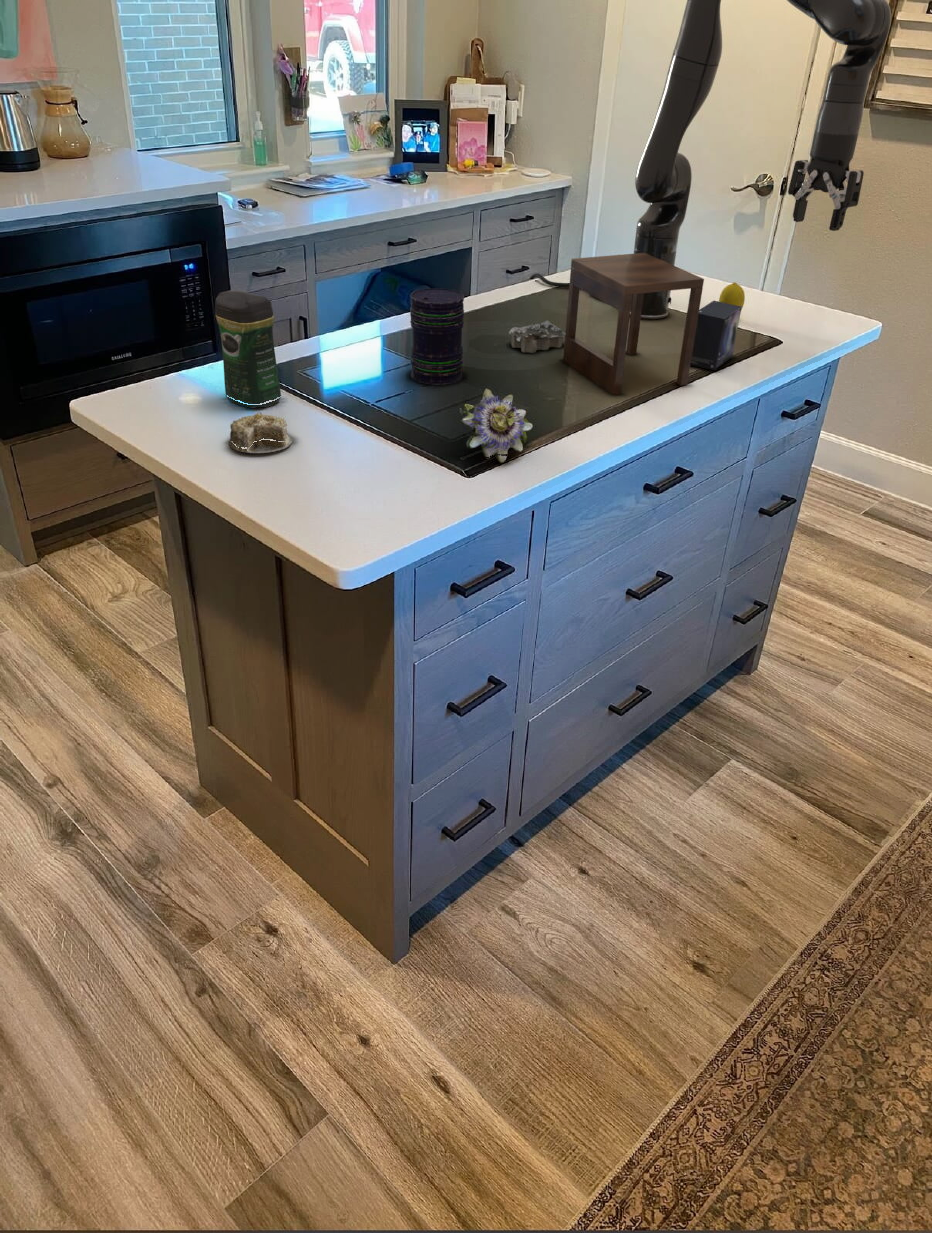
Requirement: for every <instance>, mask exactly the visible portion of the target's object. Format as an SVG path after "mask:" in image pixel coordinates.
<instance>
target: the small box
mask: <svg viewBox="0 0 932 1233" xmlns="http://www.w3.org/2000/svg"><path fill="white" fill-rule="evenodd" d="M741 309H742V310H743V308H742V306H737V305H732V304H727V303H723V302H719V300H712V301H711V302H710V303H707V304H706V305H704V306H703V307H700V308H699V315H698V321H697V327H696V333H695V339H694V346H693V352H692V358H691V364H690V366H693V367H698V368H701V369H706V370H710V371H716V370H717V369H719V368H720V367H721V366H722V365H723V364H725V363H727V361H729V360H730V359H731V358H732V357H733V354H734V349H735V344H736V338H737V333H738V328H739V324H740V320H741V313H742V310H741Z"/></svg>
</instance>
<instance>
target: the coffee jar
mask: <svg viewBox="0 0 932 1233" xmlns="http://www.w3.org/2000/svg"><path fill="white" fill-rule="evenodd" d="M214 306H215V307H214V310H215V318H216V322H217V325H218V329H219V334H220V340H221V353H222V364H223V378H224V381H223V382H224V391H225V392H224V393H225V397H226V398H227V400H229V401H230V402H232V403H234V404H237V405H240V406H243V407H246V408H251V409H254V408H261V407H262V408H266V407H270V406H272V405H274V404H276V403H277V402H278V401H280V399H282V398H281V397H282V391H281V385H280V384H281V383H280V377H279V372H278V365H277V358H276V357H277V356H276V351H275V344H274V343H275V342H274V321H275V316H274V309H273V304H272V301H271V300H270V299H269V298H267V297H266V296H261V295H256V294H253V293H250V292H246V291H242V290H240V289H239V288H236V289H232V290H226V291H223V292H219V293H218V294H217V297H216V298H215V303H214ZM226 395H228V396H229V397H232V398H234V399H235V400H240V401H242V402H244V403H248V404H260V403H264V402H266V401H269V400H274V399H276V398H277V397H280V396H281V397H280V398H279V399H277V400H275V401H272V402H269V403H266V404H262V405H247V404H243V403H240V402H238V401H235V400H233V399H231V398H229V397H227V396H226Z"/></svg>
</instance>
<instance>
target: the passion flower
mask: <svg viewBox="0 0 932 1233" xmlns="http://www.w3.org/2000/svg"><path fill="white" fill-rule="evenodd" d="M513 399H514V396H513V394H508V395H506V396H504V397H503V398H502V399H499V395H493V393H492V391H491V390H490V389H488V388H485V390H484V391H483V394H482V399H481V400H480V402H478V403H476V404H475V405H472V404H468V403H465V404H464V405H463V409H462V408H461V407H459V409H458V413H459V414H460V416H461V418H462V419H461V420H460V423H462V424H463V425H465V426H467V427H469V428H471V430H472V432H473V435H471V436H470V437H469V439H468V440H467V441H466V447H467V449H474V448H477V447H479V446H481V450H482V453H483V456H484V458H485V459H486V460H489V459H491V457H493V456H494V455H495V454H496V455H497V454H507V456H501V455H500V456H494V457H495V458H496V459H497V461H498V462H499V463H501V464H502V463H504V462H505V461H506V460H507V457H508V450H510V448H511V449H513V450H514V451H516V452H519V453H520V452H522V451H523V450H524V447H523V446H524V445H525V444H526V442H527V439H528V436H527V433H526V432H529V431H531V430H532V429H533V427H534V426H533V423H531V422H529V421H528V419H526V418H525V416H526V414H527V411H526V410H525V409H522V408H521V409H520V408H519V409H518V407H516V406H512V405H516V404H515V403H513ZM473 408H474V410H473V411H472V412H470V410H472V409H473ZM466 414H467V415H466ZM492 455H493V456H492ZM490 456H491V457H490ZM486 457H489V458H486Z"/></svg>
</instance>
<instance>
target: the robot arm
mask: <svg viewBox="0 0 932 1233" xmlns="http://www.w3.org/2000/svg"><path fill="white" fill-rule="evenodd" d="M786 1H787V3H790V5H792V6H793V7H794V8H795V9H797V10H798V11H800V12H801V13H803V14H804V15H806V16H807V17H809V18H810V19H812V20H813V21H815V22H816V24H817V26H819V28H820V29H821V30H822V31H823V32H824V33H825V34H826V36H828V37H829V38H830V39H831V40H833V41H834V42H836V43H838V44H839V45H843V46H846V48H845V51H844V53H843V56H842V58H841V59H840V60H839V61H837V62H835V63H834V64H832V65H831V66H830V68H829V70H828V74H827V77H826V83H825V87H824V91H823V96H822V100H821V104H820V106H819V107H820V108H819V110H818V114H817V118H816V122H815V127H814V131H813V137H812V142H811V147H810V151H809V156H810V161H809V160H808V159H798V160H795V162H794V166H793V169H792V174H791V178H790V181H789V186H788V190H787V194H788V195H789V196H792V197H793V198H794V200H795V201H794V202H795V203H794V207H793V213H792V218H793V220H792V221H793V222H795V223H801V222H804V221H805V217H806V212H807V208H808V202H809V200H807V199H808V198H809V197H810V196H811V195H812V194H813V193H814V192H815V191H821V192H822V193H826V194H827V193H828V195H829V198H830V199H832V202H833V206H834V208H833V210H832V215H831V219H830V223H829V227H828V229H829V231H831V232H837V231H840V229H841V228H842V227H843V225H844V221H845V218H846V217H845V216H846V213H847V210H848V209H849V208H853V207H856V206H858V204H859V200H860V196H861V190H862V185H863V180H864V174H865V172H864V170H862V169H859V170H851V169H850V163H851V161H852V160H853V158H854V154H855V151H856V146H857V141H858V137H859V134H860V129H861V125H862V120H863V115H864V105H865V101H866V96H867V93H868V92H867V91H868V88H869V84H870V78H871V75H872V72H873V70H874V68H875V66H876V65H877V62H878V60H879V57H880V56H881V52H882V50H883V48H884V46H885V43H886V41H887V38H888V35H889V33H890V28H891V23H892V11H891V7H890V4H889V3H888V1H887V0H786ZM721 2H722V0H686V4H685V8H684V12H683V16H682V19H681V24H680V26H679V31H678V36H677V39H676V42H675V45H674V48H673V51H672V55H671V59H670V62H669V66H668V70H667V74H666V78H665V82H664V87H663V90H662V93H661V96H660V100H659V104H658V107H657V111H656V113H655V118H654V122H653V124H652V128H651V130H650V133H649V136H648V138H647V141H646V144H645V146H644V149H643V152H642V154H641V157H640V159H639V162H638V165H637V168H636V173H635V179H634V180H635V182H634V185H635V190H636V194H637V195H638V197H639V198H640V199H641V201H643V202H645V203H646V204H649V206H648V207H647V209H646V211H645V212H644V213H643V215H642V216H640V217H639V218H638V220H637V222H636V228H635V239H634V245H633V246H634V248H633V254H636V253H646V254H649V255H651V256H653V257H655V258H658V259H660V260H662V261H664V262H667V263H669V264H671V265H674V266H675V264H676V257H677V249H678V242H679V234H680V229H681V227H682V225H683V224H684V221H685V218H686V214H687V209H688V204H689V198H690V195H691V194H690V193H691V188H692V187H691V186H692V178H693V176H692V166H691V163H690V161H689V159H688V158H687V157H686V156H685V155H684V154H682V153H681V152H679V150H680V146H681V145H682V144H681V143H682V141H683V138H684V136H685V134H686V132H687V130H688V128H689V126H690V125H691V124H692V121H694V119H695V117H696V116H697V114H698V113H699V111H700V110H701V108H702V107H703V105H704V103H705V102H706V100H707V98H708V96H709V95H710V92H711V90H712V87H713V85H714V82H715V79H716V76H717V71H718V68H719V66H720V62H721V58H722V52H723V31H722V20H721V5H722V4H721ZM807 174H808V177H807V178H806V176H807ZM845 182H846V183H847V184H846V183H845ZM536 278H538V279H539V280H540V281H541V282H542V283H544V284H545V285H548V286H551V287H557V288H569V285H570V282H558V281H557V282H556V281H551V280H549V279H547V278H546V277H544V276H543V275H542V274H541V273H538V272H534V273H532V275H530V277H529V278H528V279H529V280H534V279H536ZM671 292H672V290H671V291H661V292H650V293H644V296H643V304H642V312H641V320H661V319H665V318H667V317H668V316H669V306H670V305H672V297H671ZM632 300H633V294H632ZM599 301H600V302H603V301H601V300H599ZM603 303H604V302H603ZM631 309H632V302H631ZM630 317H631V310H630Z"/></svg>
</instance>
